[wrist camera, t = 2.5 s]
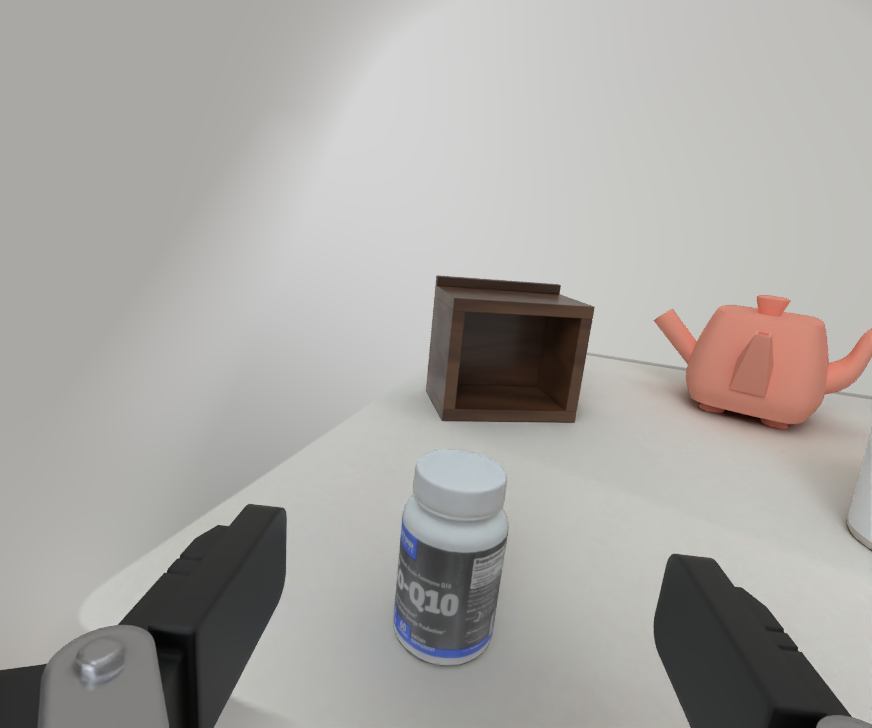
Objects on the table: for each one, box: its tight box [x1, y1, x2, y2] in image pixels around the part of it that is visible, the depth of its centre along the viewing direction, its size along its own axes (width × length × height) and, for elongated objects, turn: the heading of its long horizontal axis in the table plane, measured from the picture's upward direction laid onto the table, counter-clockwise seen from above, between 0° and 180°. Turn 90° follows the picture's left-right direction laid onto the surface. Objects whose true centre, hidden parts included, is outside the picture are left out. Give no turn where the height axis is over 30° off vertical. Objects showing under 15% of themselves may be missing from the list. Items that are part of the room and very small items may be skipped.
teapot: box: [654, 295, 872, 429], centre depth 62 cm, size 18×18×14 cm
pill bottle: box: [394, 449, 509, 665], centre depth 24 cm, size 5×5×8 cm
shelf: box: [426, 276, 594, 422], centre depth 55 cm, size 9×14×13 cm, turn 101°
